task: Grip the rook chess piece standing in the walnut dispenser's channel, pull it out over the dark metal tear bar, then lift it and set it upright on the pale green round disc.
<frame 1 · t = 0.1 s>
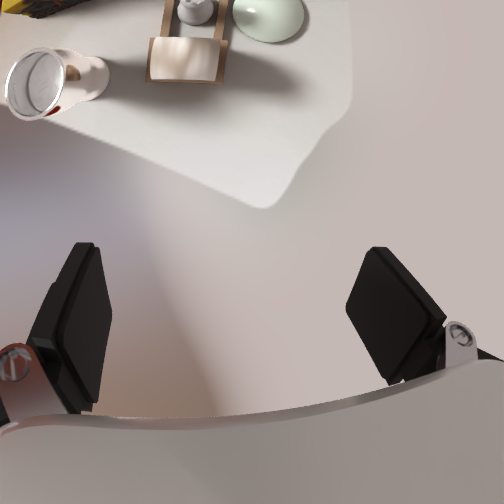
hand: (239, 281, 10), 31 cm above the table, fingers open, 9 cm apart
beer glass: (88, 78, 28), on the table
rook chess piece: (195, 11, 26), resting in dispenser
pale green round disc: (267, 12, 28), on the table
dispenser: (187, 63, 30), on the table
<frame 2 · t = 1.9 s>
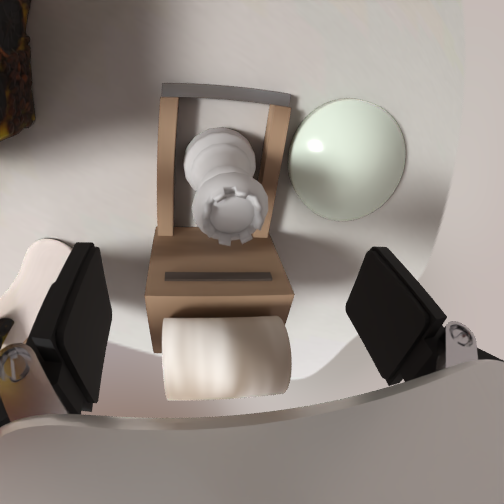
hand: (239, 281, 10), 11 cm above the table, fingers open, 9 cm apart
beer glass: (56, 267, 20), on the table
rook chess piece: (218, 158, 18), resting in dispenser
pale green round disc: (348, 159, 19), on the table
dispenser: (210, 256, 22), on the table
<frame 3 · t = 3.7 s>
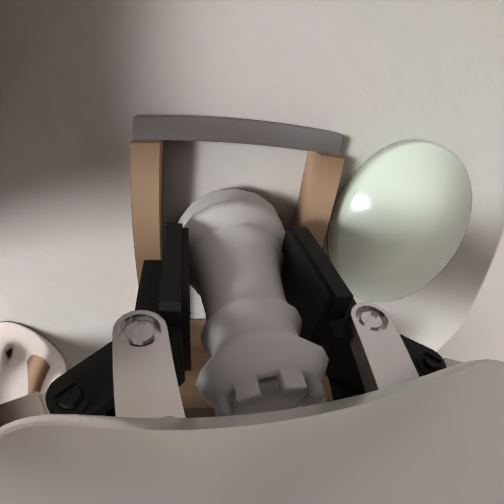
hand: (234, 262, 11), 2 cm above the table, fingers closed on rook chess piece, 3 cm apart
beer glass: (28, 350, 14), on the table
rook chess piece: (227, 231, 13), resting in dispenser, touching gripper
pale green round disc: (404, 223, 14), on the table
dispenser: (217, 348, 16), on the table
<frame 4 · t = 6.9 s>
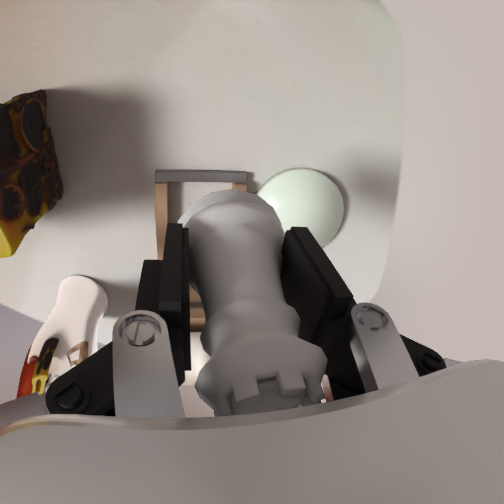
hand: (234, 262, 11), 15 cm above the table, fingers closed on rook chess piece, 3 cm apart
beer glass: (83, 295, 28), on the table
rook chess piece: (227, 232, 13), point 13 cm above the table, touching gripper
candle: (13, 156, 19), on the table
pale green round disc: (296, 213, 27), on the table
dispenser: (197, 286, 30), on the table
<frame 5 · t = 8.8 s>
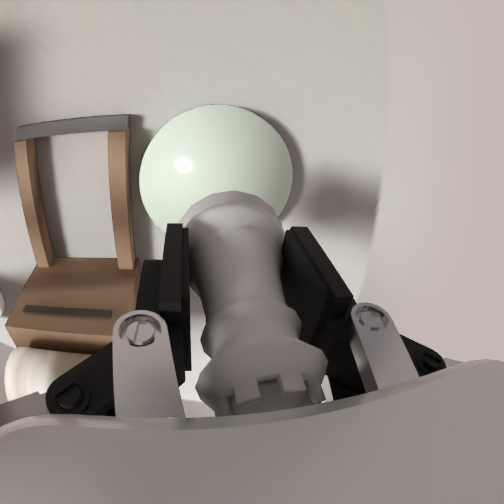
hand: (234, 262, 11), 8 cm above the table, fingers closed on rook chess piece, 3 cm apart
rook chess piece: (227, 233, 13), point 6 cm above the table, touching gripper
pale green round disc: (215, 177, 17), on the table
dispenser: (92, 285, 20), on the table
when the fingers open (4 cm above the table, at t = 10.3 s): rook chess piece stays where it is, resting on pale green round disc.
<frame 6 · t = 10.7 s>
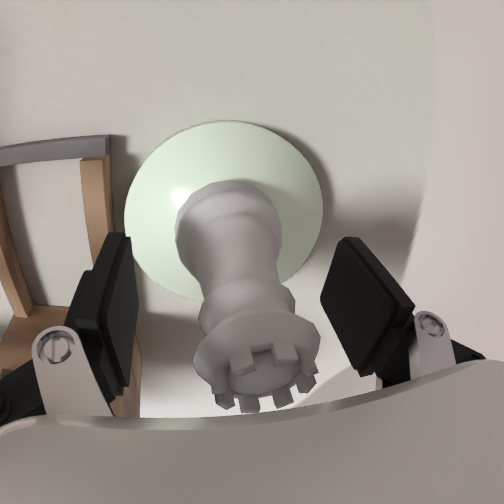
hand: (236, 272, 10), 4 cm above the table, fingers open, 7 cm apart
rook chess piece: (225, 222, 13), point 1 cm above the table, touching pale green round disc
pale green round disc: (224, 216, 14), on the table
dispenser: (79, 334, 16), on the table
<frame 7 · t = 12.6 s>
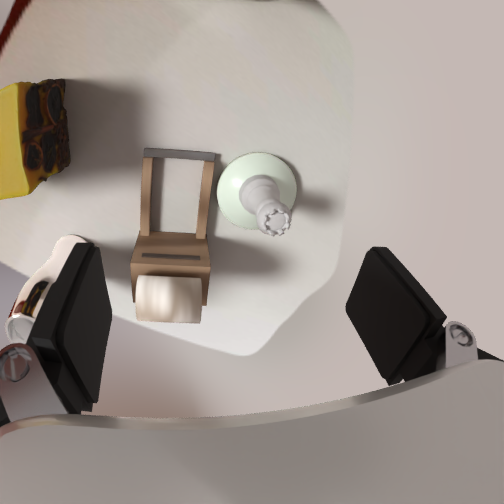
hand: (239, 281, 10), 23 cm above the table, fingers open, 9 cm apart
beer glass: (75, 254, 33), on the table
rook chess piece: (257, 191, 32), point 1 cm above the table, touching pale green round disc
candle: (32, 130, 24), on the table
pale green round disc: (256, 190, 33), on the table
dispenser: (172, 250, 35), on the table
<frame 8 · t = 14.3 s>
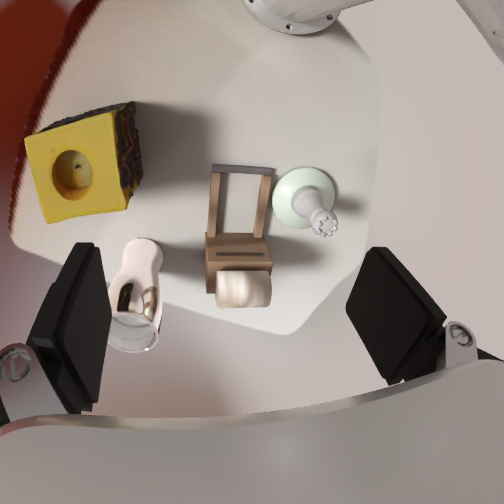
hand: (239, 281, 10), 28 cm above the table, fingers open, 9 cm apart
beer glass: (143, 255, 41), on the table
rook chess piece: (304, 198, 40), point 1 cm above the table, touching pale green round disc
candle: (102, 146, 31), on the table
pale green round disc: (302, 197, 40), on the table
dispenser: (232, 248, 43), on the table
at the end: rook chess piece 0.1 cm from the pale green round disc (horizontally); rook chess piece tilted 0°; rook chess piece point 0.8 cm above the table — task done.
